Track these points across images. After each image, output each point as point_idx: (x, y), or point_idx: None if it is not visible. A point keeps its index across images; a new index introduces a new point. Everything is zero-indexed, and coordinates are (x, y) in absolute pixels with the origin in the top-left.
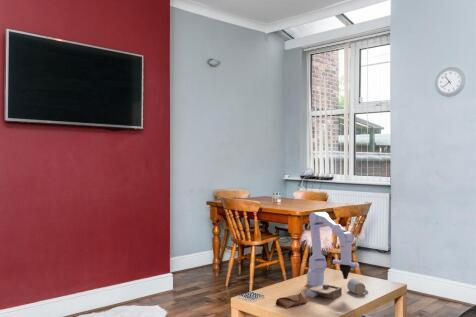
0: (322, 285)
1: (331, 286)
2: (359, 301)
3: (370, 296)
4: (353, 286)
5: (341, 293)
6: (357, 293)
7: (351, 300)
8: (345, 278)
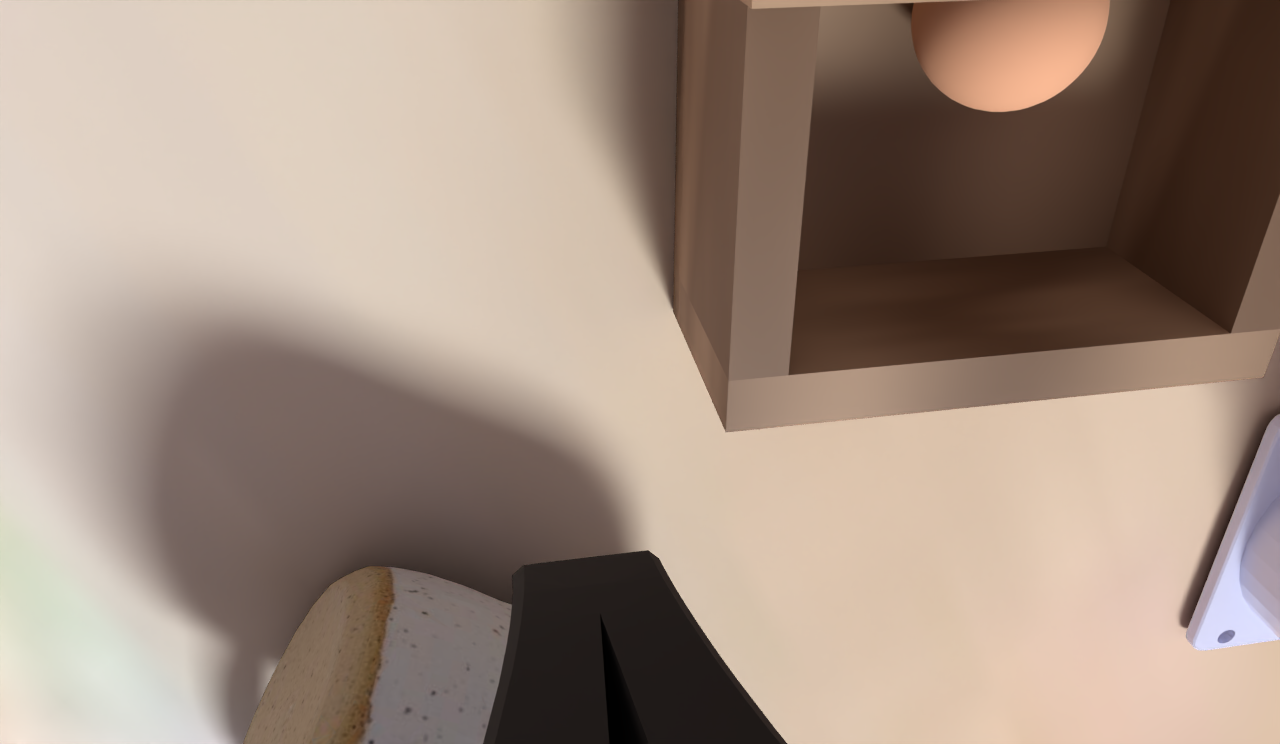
0: (1261, 534)
1: (1046, 342)
2: (12, 210)
3: (119, 705)
4: (460, 696)
5: (685, 332)
6: (339, 581)
7: (237, 123)
8: (538, 584)
